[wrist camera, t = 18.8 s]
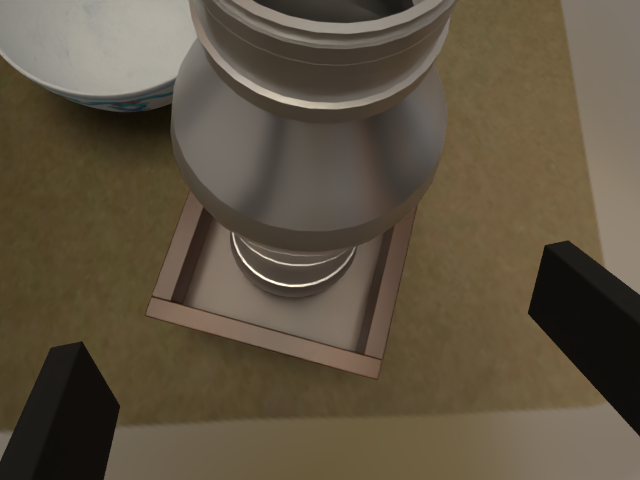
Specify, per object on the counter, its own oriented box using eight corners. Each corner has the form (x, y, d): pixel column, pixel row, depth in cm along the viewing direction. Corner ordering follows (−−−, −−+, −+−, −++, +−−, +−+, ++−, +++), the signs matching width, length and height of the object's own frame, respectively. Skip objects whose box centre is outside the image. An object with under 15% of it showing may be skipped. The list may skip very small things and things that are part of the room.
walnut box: (184, 319, 29) (143, 315, 20) (237, 163, 31) (220, 104, 23) (351, 366, 29) (378, 380, 21) (390, 207, 32) (427, 163, 23)
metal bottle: (232, 196, 25) (31, -306, 5) (345, 188, 25) (541, -283, 6) (239, 306, 23) (6, 184, 4) (358, 294, 24) (666, 140, 5)
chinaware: (175, -48, 35) (145, -151, 27) (284, 83, 33) (284, 10, 26) (10, 42, 32) (-74, -46, 25) (120, 190, 30) (65, 144, 23)
